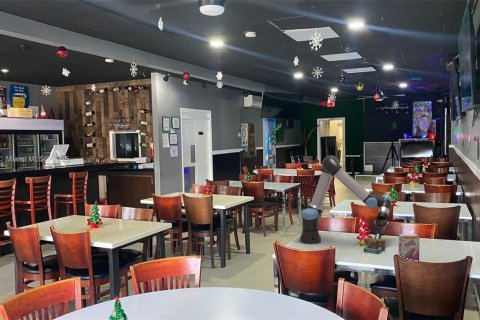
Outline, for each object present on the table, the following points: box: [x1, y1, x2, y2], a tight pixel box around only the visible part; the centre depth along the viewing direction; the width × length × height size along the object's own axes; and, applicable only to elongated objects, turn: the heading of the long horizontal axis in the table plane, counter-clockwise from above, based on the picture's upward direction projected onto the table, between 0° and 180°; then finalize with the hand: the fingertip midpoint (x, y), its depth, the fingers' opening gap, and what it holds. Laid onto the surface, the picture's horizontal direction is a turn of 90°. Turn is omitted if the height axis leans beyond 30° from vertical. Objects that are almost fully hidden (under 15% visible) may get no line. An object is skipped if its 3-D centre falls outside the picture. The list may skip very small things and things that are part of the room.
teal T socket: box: [363, 246, 383, 255], centre depth 277 cm, size 10×8×2 cm
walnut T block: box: [364, 237, 386, 252], centre depth 280 cm, size 12×10×7 cm
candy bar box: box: [398, 233, 420, 262], centre depth 253 cm, size 11×5×16 cm, turn 84°
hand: (376, 243), depth 285 cm, fingers closed
